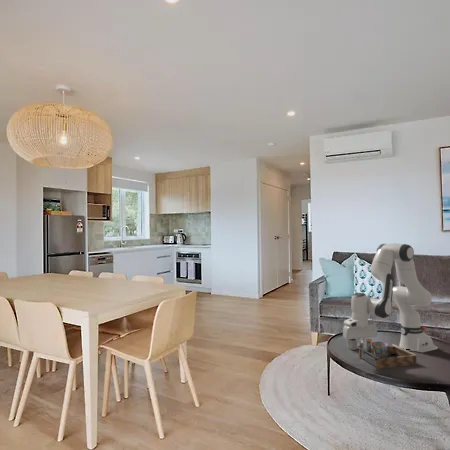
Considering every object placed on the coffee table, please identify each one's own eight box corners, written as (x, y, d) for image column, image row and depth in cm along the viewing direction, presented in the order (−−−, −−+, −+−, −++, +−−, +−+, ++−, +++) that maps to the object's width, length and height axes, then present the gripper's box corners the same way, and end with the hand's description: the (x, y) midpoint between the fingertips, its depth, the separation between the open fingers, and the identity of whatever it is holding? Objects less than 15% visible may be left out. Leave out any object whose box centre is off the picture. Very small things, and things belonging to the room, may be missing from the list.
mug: (390, 366, 187) (389, 347, 187) (372, 364, 190) (372, 346, 190) (386, 358, 199) (386, 340, 199) (370, 357, 201) (369, 339, 202)
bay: (394, 353, 207) (393, 344, 207) (416, 364, 188) (416, 354, 189) (358, 357, 202) (358, 347, 202) (378, 369, 184) (377, 359, 184)
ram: (361, 355, 203) (361, 334, 203) (382, 368, 184) (381, 344, 184) (357, 356, 202) (356, 334, 202) (377, 368, 183) (376, 345, 184)
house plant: (368, 347, 218) (367, 322, 219) (363, 353, 207) (362, 327, 207) (345, 343, 226) (345, 319, 227) (340, 349, 215) (339, 324, 215)
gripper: (372, 318, 198) (373, 342, 197) (341, 321, 194) (341, 345, 193) (379, 321, 191) (380, 345, 191) (347, 324, 188) (347, 348, 187)
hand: (360, 345), depth 192 cm, fingers closed
